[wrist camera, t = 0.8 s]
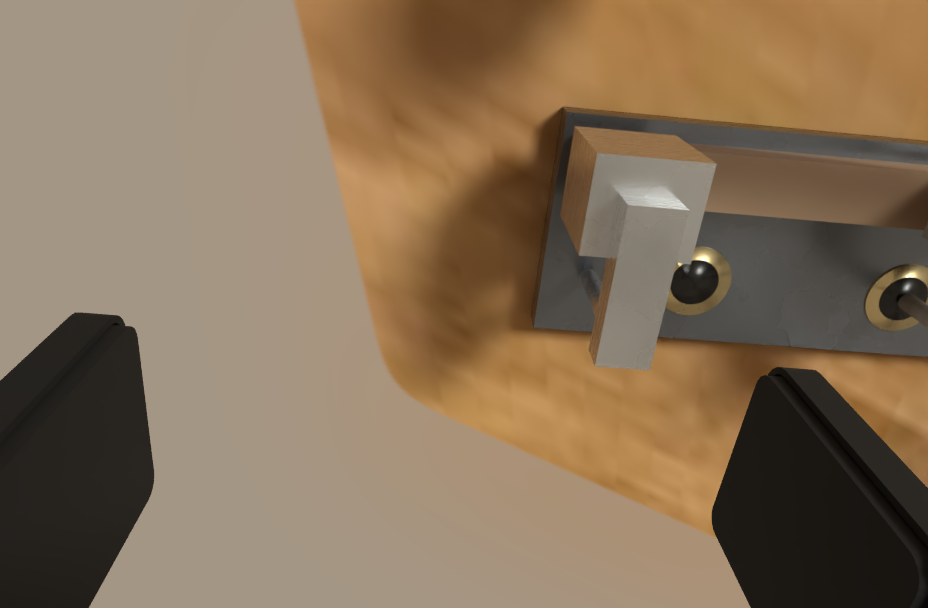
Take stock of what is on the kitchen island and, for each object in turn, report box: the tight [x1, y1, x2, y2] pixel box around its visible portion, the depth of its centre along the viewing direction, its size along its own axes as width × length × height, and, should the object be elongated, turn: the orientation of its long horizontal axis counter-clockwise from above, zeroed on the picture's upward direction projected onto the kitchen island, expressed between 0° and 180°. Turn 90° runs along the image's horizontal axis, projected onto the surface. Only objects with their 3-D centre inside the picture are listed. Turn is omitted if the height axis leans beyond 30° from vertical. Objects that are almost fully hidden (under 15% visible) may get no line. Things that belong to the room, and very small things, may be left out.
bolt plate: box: [531, 107, 928, 357], centre depth 31 cm, size 10×22×1 cm, turn 85°
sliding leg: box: [560, 126, 717, 370], centre depth 26 cm, size 7×4×7 cm, turn 175°
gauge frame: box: [688, 143, 928, 328], centre depth 27 cm, size 7×21×8 cm, turn 85°
